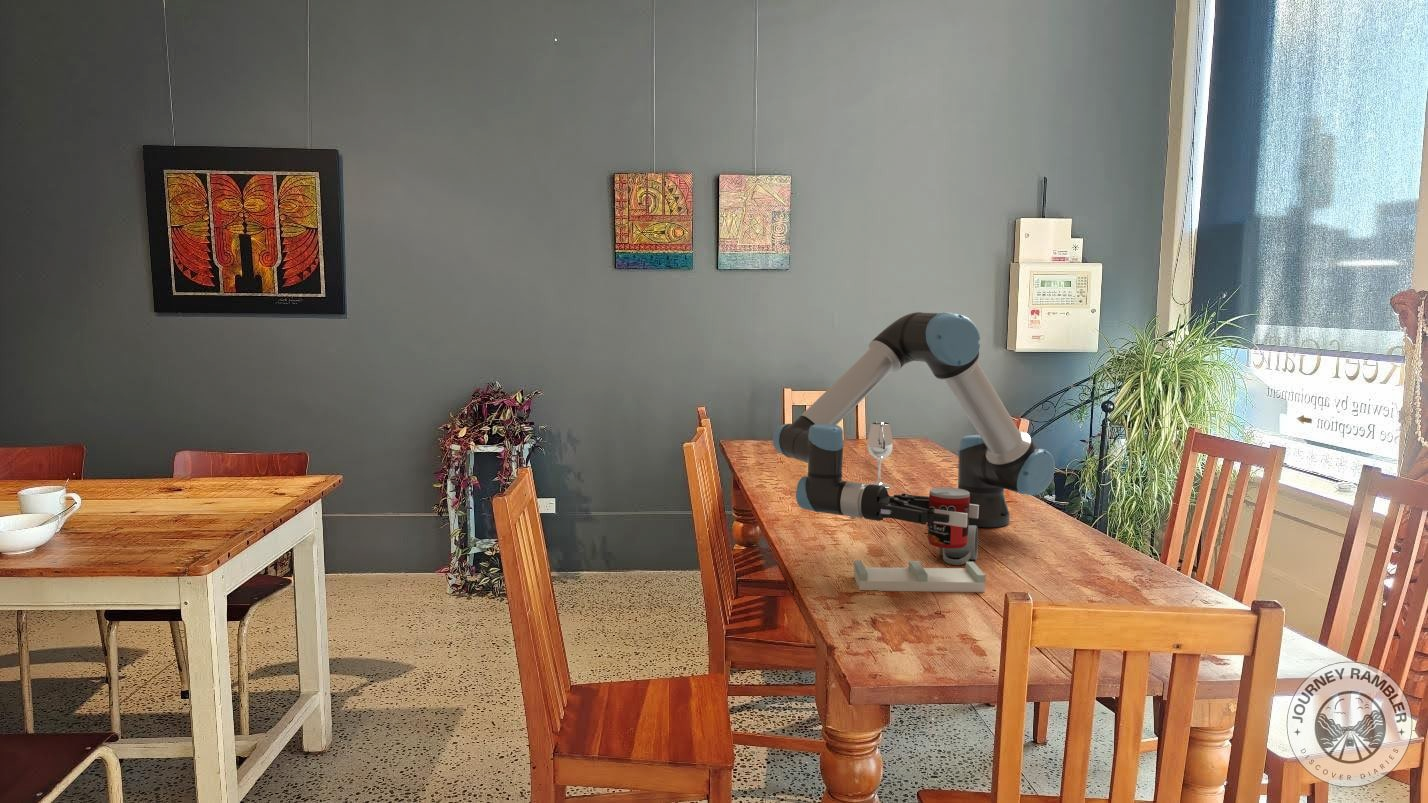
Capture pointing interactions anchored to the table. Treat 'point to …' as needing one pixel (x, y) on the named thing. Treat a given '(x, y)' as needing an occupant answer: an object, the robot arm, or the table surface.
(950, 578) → the rail
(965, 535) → the canned food
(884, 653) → the table surface
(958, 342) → the robot arm
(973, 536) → the ceramic mug
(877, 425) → the wineglass
